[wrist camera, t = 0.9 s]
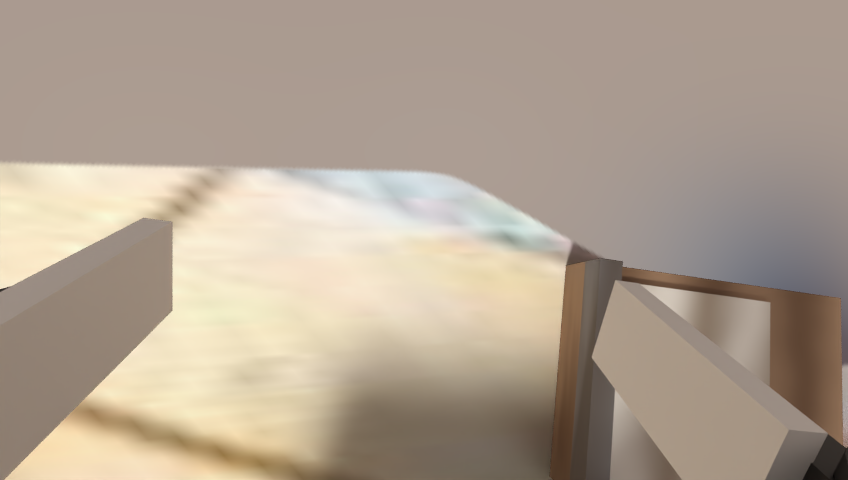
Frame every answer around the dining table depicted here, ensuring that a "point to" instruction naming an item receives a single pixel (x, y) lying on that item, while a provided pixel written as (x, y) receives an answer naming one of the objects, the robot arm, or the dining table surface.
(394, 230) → the dining table surface
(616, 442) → the brown wooden display stand
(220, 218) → the dining table surface
